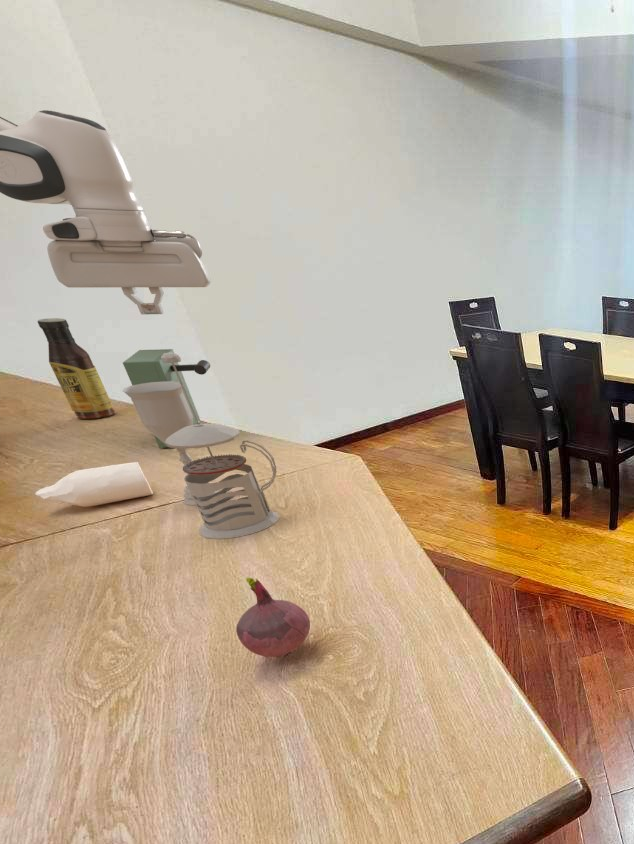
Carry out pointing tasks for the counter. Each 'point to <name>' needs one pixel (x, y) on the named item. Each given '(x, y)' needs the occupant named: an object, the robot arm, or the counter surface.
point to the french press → (222, 515)
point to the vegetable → (272, 625)
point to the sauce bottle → (75, 372)
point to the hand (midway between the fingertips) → (152, 314)
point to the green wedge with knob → (161, 373)
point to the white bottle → (99, 486)
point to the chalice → (164, 414)
